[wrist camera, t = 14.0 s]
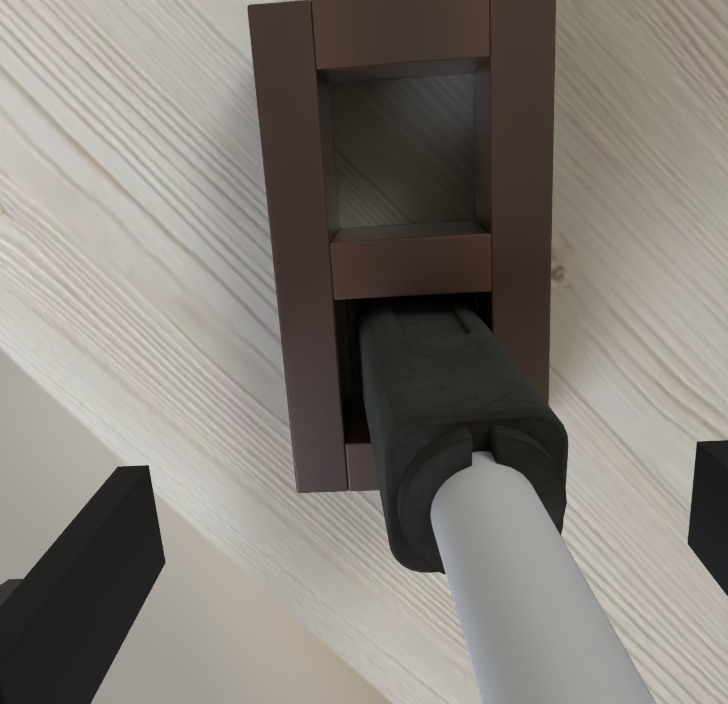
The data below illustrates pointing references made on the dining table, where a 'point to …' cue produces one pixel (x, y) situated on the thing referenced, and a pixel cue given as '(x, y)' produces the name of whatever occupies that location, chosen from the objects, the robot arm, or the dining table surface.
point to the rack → (407, 241)
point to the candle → (484, 501)
